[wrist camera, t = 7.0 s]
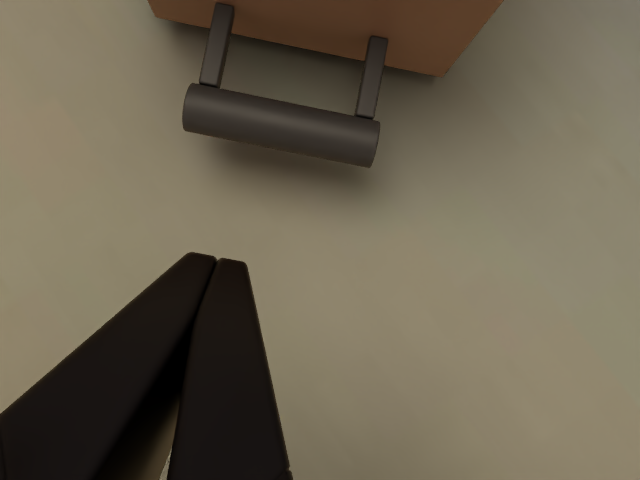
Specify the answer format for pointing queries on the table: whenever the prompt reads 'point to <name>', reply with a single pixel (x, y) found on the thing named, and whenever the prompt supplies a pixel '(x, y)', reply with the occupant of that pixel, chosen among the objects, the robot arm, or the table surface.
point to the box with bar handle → (329, 37)
